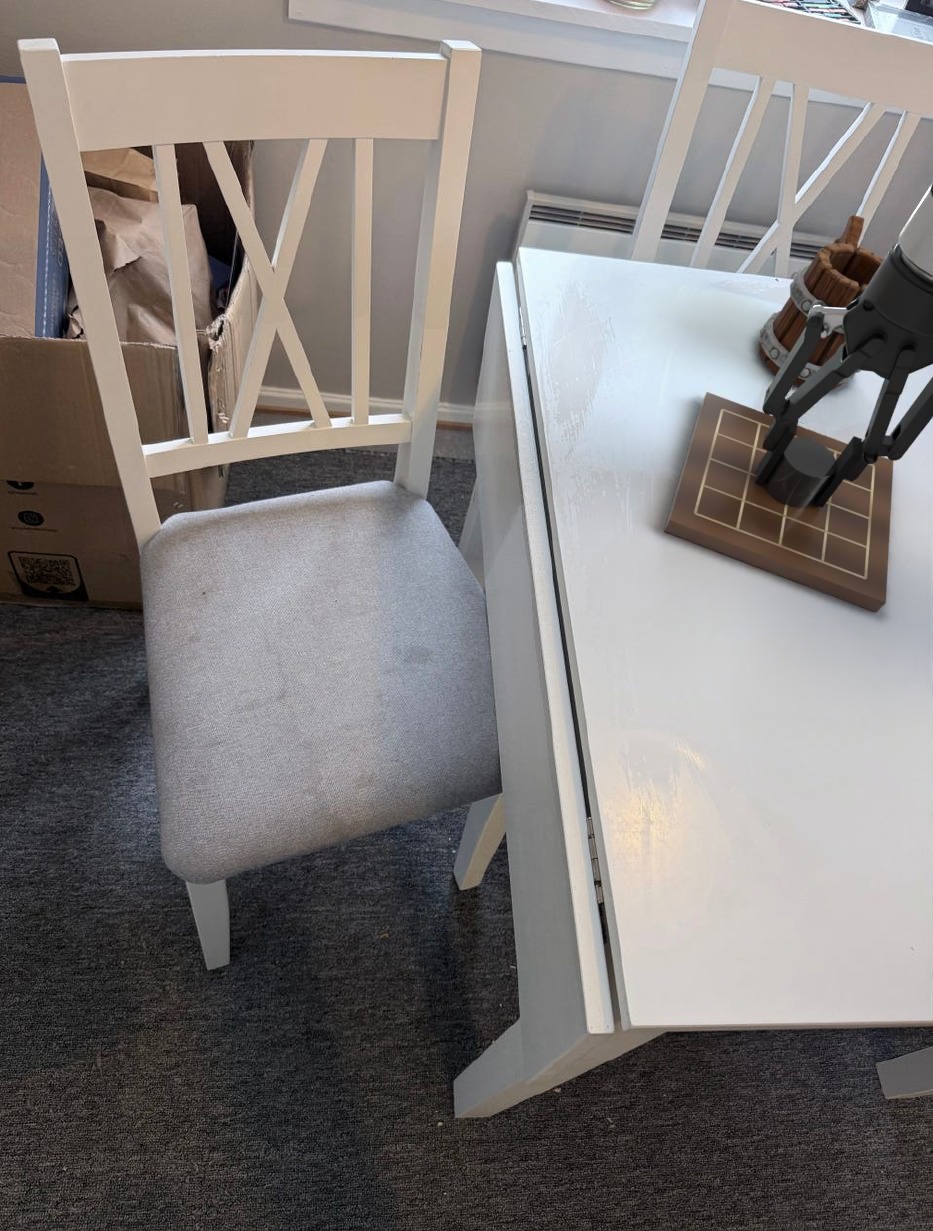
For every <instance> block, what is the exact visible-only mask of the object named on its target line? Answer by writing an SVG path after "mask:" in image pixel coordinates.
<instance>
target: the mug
mask: <svg viewBox="0 0 933 1231" xmlns="http://www.w3.org/2000/svg"><path fill="white" fill-rule="evenodd" d="M847 220H848V221H847V222H846V226H845V228H844V230H843V232H842V234H841V236H840V237H838V238H835V240H834V241H833V243H829V244H827V245H824V246H823V247H821V248H820V249H819V250H818V251H817V253H816V254H815V256H814V258H813V259H812V261H811V262H810V264H808V265H807V266H804V267H802V268H800V269H799V270H798V273H797V274H796V276H795V277H794V279H793V280H792V282H791V283H790V285H789V295H790V296H789V298H788V299H787V300H786V302H785V304H784V305H783V307H782V309H781V310H779V311H777V312H773V313H771V315H770V316H769V318H768V319H767V321H766V322H765V323H764V325H763V326H762V327H761V328H760V330H759V342H758V352H759V354H760V357H761V359H762V361H763V362H764V363H765V362H766V366H767V368H768V369H769V370H771V372H773V374H775V376H776V375H777V373H778V371H779V370H780V368H781V366H782V365H783V363H784V362H785V360H786V358H787V357H788V355H789V353H790V352H791V350H792V349H793V347H794V345H795V344H796V342H797V340H798V339H799V337H800V336H801V334H802V332H803V331H804V329H805V327H806V326H807V320H808V315H809V309H810V305H811V304H812V303H813V302H814V301H817V300H820V301H823V302H824V303H825V305H826V307H831V308H846V307H847V306H848V305H849V304H850V303H851V302H853V301H855V300H856V299H857V298H859V297H860V296H861V295H862V294H863V292H864V291H865V289H866V287H867V286H868V284H869V283H870V281H871V279H872V278H873V276H874V275H875V273H876V271H877V270H878V268H879V267H880V265H881V263H882V262H883V260H884V258H883V257H881V256H879V255H877V254H876V253H874V252H872V251H871V250H868V249H865V248H862V247H860V246H859V242H860V238H861V236H862V233H863V229H864V225H865V224H864V223H865V218H864V217H863V216H858V215H854V214H852V215H850V216H849V217H848V219H847ZM844 342H845V336H844V330H843V326H837V327H835V328H834V329H833V331H832V333H831V334H830V335H829V336H827V337H826V338H821V337H820V341H819V344H818V346H817V348H816V350H815V352H814V354H813V355H812V357H811V358H810V360H809V361H808V363H807V364H806V366H805V368H804V369H803V371H802V372H801V374H800V375H799V377H798V378H797V380H796V382H795V383H794V385H793V386H797V387H798V388H799V387H800V386H801V385H802V384H803V383H805V382H806V381H807V380H808V379H809V378H810V377H811V376H812V375H813V374H814V373H815V372H816V371H817V370H818V369H820V368H821V367H822V366H823V365H824V364H825V363H826V362H827V361H828V360H829V359H830V358H831V357H832V356H833V355H834V354H835V353H836V352H837V350H838V349H839V347H840V346H841V345H842V344H843V343H844ZM861 372H862V370H860V369H858V370H857V371H855V372H854V373H853V374H852V375H851V376H850V377H848V378H844V379H843V380H842V381H841V382H840V383H838V384H837V385H836V386H835V387H834V388H833V389H832V390H831V391H834V390H836V389H838V388H841V387H842V386H843V384H845V383H846V382H848V381H850V380H852V379H853V378H854V377H855V376H856V374H858V373H861Z"/></svg>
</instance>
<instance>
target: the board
mask: <svg viewBox="0 0 933 1231" xmlns="http://www.w3.org/2000/svg"><path fill="white" fill-rule="evenodd" d="M773 420H774V417H773V416H772V415H768V414H765V413H764V412H763V411H760V410H757V409H755V408H751V407H750V406H746V405H744V404H742V403H739V402H736V401H734V400H730V399H728V398H725V397H723V396H720V395H716V394H715V393H711V392H709V391H706V393H705V395H704V396H703V399H702V401H701V403H700V406H699V409H698V413H697V417H696V420H695V423H694V427H693V430H692V432H691V433H692V434H691V437H690V441H689V444H688V447H687V450H686V454H685V458H684V461H683V465H682V468H681V471H680V475H679V479H678V482H677V485H676V487H675V488H676V489H675V491H674V495H673V500H672V501H671V502H672V503H671V506H670V509H669V512H668V516H667V519H666V523H665V526H664V532H665V533H668V534H671V535H672V536H676V537H679V538H681V539H684V540H687V541H689V542H692V543H694V544H697V545H699V546H702V547H705V548H708V549H710V550H713V551H716V552H717V553H720V554H723V555H724V556H725V555H726V556H729V557H731V558H733V559H736V560H739V561H741V562H743V563H747V564H749V565H752V566H754V567H756V568H759V569H762V570H765V571H767V572H770V573H772V574H774V575H778V576H781V577H783V578H785V579H788V580H791V581H793V582H796V583H799V584H801V585H804V586H806V587H809V588H812V589H814V590H817V591H819V592H821V593H824V594H827V595H829V596H833V597H835V598H838V599H840V600H843V601H845V602H848V603H851V604H853V605H856V606H858V607H861V608H864V609H867V610H869V611H871V612H874V613H878V612H879V611H880V610H881V609H882V608H883V606H885V604H886V603H887V588H888V586H887V585H888V572H889V571H888V570H889V554H890V553H889V550H890V534H891V532H890V531H891V517H892V516H891V514H892V513H891V512H892V498H893V497H892V494H893V479H894V478H893V476H894V461H892V460H890V459H888V457H885V456H878V460H877V462H875V463H874V464H868V465H867V467H866V468H865V469H864V470H863V472H862V473H861V474H860V476H859V477H858V478H857V479H856V480H854V481H852V482H851V481H849V480H846V479H844V480H843V481H842V483H841V484H840V485H839V487H838V488H837V489H836V490H835V492H834V493H833V494H832V496H831V497H830V498H829V500H828V501H827V502H826V504H825V505H824V506H823V508H822V507H819V506H816V505H815V500H816V499H815V500H814V501H813V503H811V504H810V505H808V506H805V507H792V506H789V505H786V504H783V503H781V502H779V501H778V500H776V499H775V498H774V497H773V496H771V495H770V493H769V492H768V491H767V489H766V488H765V486H764V484H763V485H761V484H758V483H755V480H756V475H757V470H758V466H759V463H760V462H761V460H762V458H763V457H764V455H765V454H766V452H767V450H765V449H763V441H764V436H765V433H766V432H767V430H768V428H769V427H770V425H771V423H772V422H773ZM794 437H805V438H809V439H812V440H815V441H817V442H819V443H821V444H822V445H824V446H825V447H826V448H827V449H829V450H830V451H831V453H832V454H833V455H834V457H835V459H836V460H837V459H838V457H839V456H840V455H841V453H842V452H843V450H844V449H845V448H846V446H847V445H848V444H849V443H847V442H845V441H841V440H839V439H835V438H833V437H831V436H827V435H824V434H822V433H819V432H817V431H814V430H811V429H808V428H807V427H803V426H800V425H798V426H797V431H796V435H795V436H794Z"/></svg>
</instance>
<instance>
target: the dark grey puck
mask: <svg viewBox="0 0 933 1231" xmlns="http://www.w3.org/2000/svg"><path fill="white" fill-rule="evenodd" d="M836 469H837V462H836V459H835V457H834V455H833V454H832V453H831V451H830V450H829V449H827V448H826V447H825V446H824V445H822V444H821V443H819V442H817V441H815V440H812V439H809V438H805V437H794V438H793V439H792V441H791V442H790V444H789V445H788V447H787V449H786V450H785V452H784V453H783V455H782V456H781V458H780V459H779V461H778V462H777V464H776V465H775V467H774V468H773V470H772V472H771V473H770V475H769V476H768V478H767V479H766V481H765V482H764V486H765V488H766V489H767V491H768V492H769V493H770V495H771V496H773V497H774V498H775V499H776V500H778V501H779V502H781V503H783V504H786V505H789V506H792V507H805V506H808V505H810V504H811V503H813V501H814V500H815V499H816V497H817V496H818V495H819V493H820V492H821V491H822V489H823V488H824V486H825V485H826V484H827V482H828V481H829V480H830V478H831V477H832V476H833V474H834V473H835V472H836Z"/></svg>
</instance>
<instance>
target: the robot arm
mask: <svg viewBox="0 0 933 1231" xmlns="http://www.w3.org/2000/svg"><path fill="white" fill-rule="evenodd" d="M837 326H843V330H844V336H845V342H844V343H843V344H842V345H841V346H840V347H839V349H838V350H837V352H836V353H835V354H834V355H833V356H832V357H831V358H830V359H829V360H828V361H827V362H826V363H825V364H824V365H823V366H822V367H821V368H820V369H818V370H817V371H816V372H815V373H814V374H813V375H812V376H811V377H810V378H809V379H808V380H807V381H806V382H805V383H803V384H802V385H801V386H800V387H799V386H798V388H797V389H796V390H795V391H794V392H792V394H790V395H789V396H788V397H787V395H788V394H789V392H790V391H791V389H792V388H793V386H795V385H794V383H795V382H796V380H797V378H798V377H799V375H800V374H801V372H802V371H803V369H804V368H805V366H806V364H807V363H808V361H809V360H810V358H811V357H812V355H813V354H814V352H815V350H816V348H817V346H818V344H819V341H820V337H821V338H826V337H827V336H829V335H830V334H831V333H832V331H833V329H834V328H835V327H837ZM932 365H933V182H932V183H931V185H930V186H929V188H928V190H927V191H926V193H925V194H924V196H923V197H922V199H921V201H920V202H919V204H918V205H917V207H916V208H915V210H914V211H913V213H912V214H911V216H910V218H909V219H908V221H907V222H906V224H905V225H904V227H903V228H902V229H901V232H900V233H899V235H898V242H897V243H896V244H893V245H892V247H890V249H889V250H888V252H887V254H886V255H885V257H884V258H883V262H882V263H881V265H880V267H879V268H878V270H877V271H876V273H875V275H874V276H873V278H872V279H871V281H870V283H869V284H868V286H867V287H866V289H865V291H864V292H863V294H862V295H861V296H860V297H859V298H857V299H856V300H855V301H853V302H851V303H850V304H849V305H848V306H847V307H846V308H831V307H826V305H825V303H824V302H823V301H820V300H817V301H814V302H813V303H812V304H811V305H810V309H809V315H808V320H807V326H806V327H805V329H804V331H803V332H802V334H801V336H800V337H799V339H798V340H797V342H796V344H795V345H794V347H793V349H792V350H791V352H790V353H789V355H788V357H787V358H786V360H785V362H784V363H783V365H782V366H781V368H780V370H779V371H778V373H777V375H776V374H775V376H774V377H773V379H772V381H771V382H770V384H769V386H768V387H767V389H766V391H765V395H764V400H763V404H762V412H763V413H765V414H768V415H771V416H773V417H774V420H773V422H772V423H771V425H770V427H769V428H768V430H767V432H766V433H765V436H764V441H763V449H765V450H767V452H766V454H765V455H764V457H763V458H762V460H761V462H760V463H759V466H758V470H757V475H756V480H755V483H758V484H761V485H763V484H764V482H765V481H766V479H767V478H768V476H769V475H770V473H771V472H772V470H773V468H774V467H775V465H776V464H777V462H778V461H779V459H780V458H781V456H782V455H783V453H784V452H785V450H786V449H787V447H788V445H789V444H790V442H791V441H792V439H793V438H794V436H795V435H796V431H797V426H799V421H800V420H799V419H800V418H802V417H803V416H804V415H805V414H806V413H807V412H809V410H811V409H812V408H813V407H814V406H815V405H816V404H817V403H819V402H820V400H822V399H823V398H824V397H825V396H827V395H828V394H829V392H831V391H833V390H832V389H833V388H834V387H835V386H836V385H837V384H838V383H840V382H841V381H842V380H843V379H844V378H848V377H850V376H851V375H852V374H853V373H854V372H855V371H857V370H858V369H860V370H861V371H863V372H872V373H874V374H876V375H877V376H878V377H879V378H882V379H883V382H882V385H881V388H880V391H879V394H878V397H877V399H876V401H875V405H874V408H873V411H872V413H871V416H870V420H869V422H868V426H867V428H866V431H865V434H864V438H862V437H857V436H856V435H854V436H853V437H852V438H851V439H850V441H849V442H848V443H847V444H848V445H847V446H846V448H845V449H844V450H843V452H842V453H841V455H840V456H839V457H838V459H837V460H836V462H837V469H836V472H835V473H834V474H833V476H832V477H831V478H830V480H829V481H828V482H827V484H826V485H825V486H824V488H823V489H822V491H821V492H820V493H819V495H818V496H817V497H816V500H815V505H816V506H819V507H822V508H823V506H824V505H825V504H826V502H827V501H828V500H829V498H830V497H831V496H832V494H833V493H834V492H835V490H836V489H837V488H838V487H839V485H840V484H841V483H842V481H843V480H844V479H846V480H849V481H851V482H852V481H854V480H856V479H857V478H858V477H859V476H860V474H861V473H862V472H863V470H864V469H865V468H866V467H867V465H868V464H874V463H875V462H877V460H878V456H882V457H885V458H887V459H890V460H892V461H893V462H895V461H896V462H897V461H899V460H901V459H902V458H903V456H904V455H905V454H906V453H907V451H908V450H909V449H910V448H911V446H912V445H913V444H914V443H915V441H916V440H917V438H918V437H919V436H920V435H921V433H922V432H923V431H924V429H925V428H926V427H927V425H928V424H929V423H930V422H931V421H932V419H933V376H932V377H931V378H930V380H929V381H928V382H927V383H926V385H925V386H924V388H923V389H922V390H921V392H920V393H919V394H918V396H917V397H916V398H915V399H914V401H913V402H912V404H911V405H910V407H909V408H908V409H907V411H906V412H905V413H904V415H903V417H901V419H900V420H899V422H898V423H897V424H896V426H895V427H894V429H893V430H892V431H891V432H890V434H888V435H887V431H888V429H889V426H890V424H891V420H892V418H893V417H894V416H893V415H894V413H895V410H896V408H897V405H898V403H899V399H900V396H902V394H903V392H904V389H905V386H906V383H907V380H908V378H909V375H910V374H912V373H913V374H914V373H916V372H917V371H919V370H923V369H924V368H928V367H930V366H932ZM786 397H787V398H786Z"/></svg>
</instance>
